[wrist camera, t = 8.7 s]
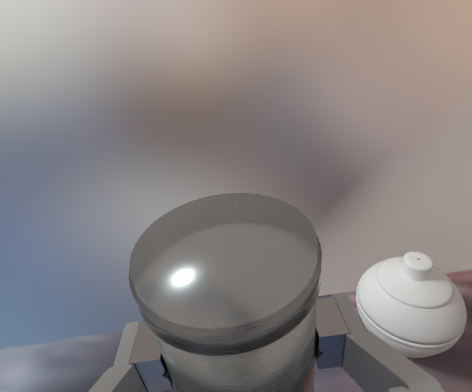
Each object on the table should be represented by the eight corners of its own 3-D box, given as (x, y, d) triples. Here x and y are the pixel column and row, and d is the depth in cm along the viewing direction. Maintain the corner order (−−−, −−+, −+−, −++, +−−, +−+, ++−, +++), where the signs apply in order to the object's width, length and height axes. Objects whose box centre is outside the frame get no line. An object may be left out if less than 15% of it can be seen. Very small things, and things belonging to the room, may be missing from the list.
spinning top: (351, 389, 26) (365, 293, 20) (348, 314, 32) (358, 223, 26) (454, 411, 24) (507, 311, 18) (430, 326, 30) (463, 230, 24)
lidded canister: (192, 507, 11) (97, 340, 6) (197, 367, 16) (145, 203, 10) (332, 487, 11) (357, 304, 6) (297, 353, 16) (294, 182, 11)
